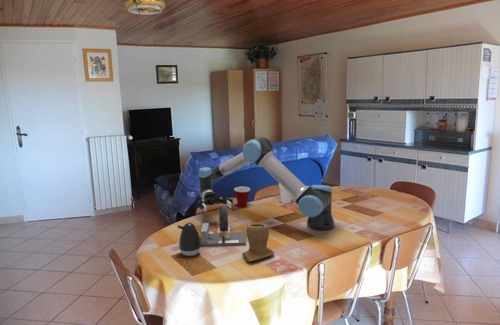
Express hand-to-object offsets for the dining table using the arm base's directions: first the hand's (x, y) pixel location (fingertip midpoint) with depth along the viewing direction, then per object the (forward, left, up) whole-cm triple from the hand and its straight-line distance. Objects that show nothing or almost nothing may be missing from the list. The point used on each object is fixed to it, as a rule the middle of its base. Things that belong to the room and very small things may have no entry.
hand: (218, 207), depth 198 cm
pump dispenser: (-1, +27, -15) cm, 31 cm away
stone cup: (-30, +16, -15) cm, 38 cm away
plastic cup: (+13, -50, -15) cm, 54 cm away
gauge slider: (-8, +8, -13) cm, 18 cm away
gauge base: (-8, +6, -15) cm, 18 cm away
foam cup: (-10, -70, -15) cm, 72 cm away
